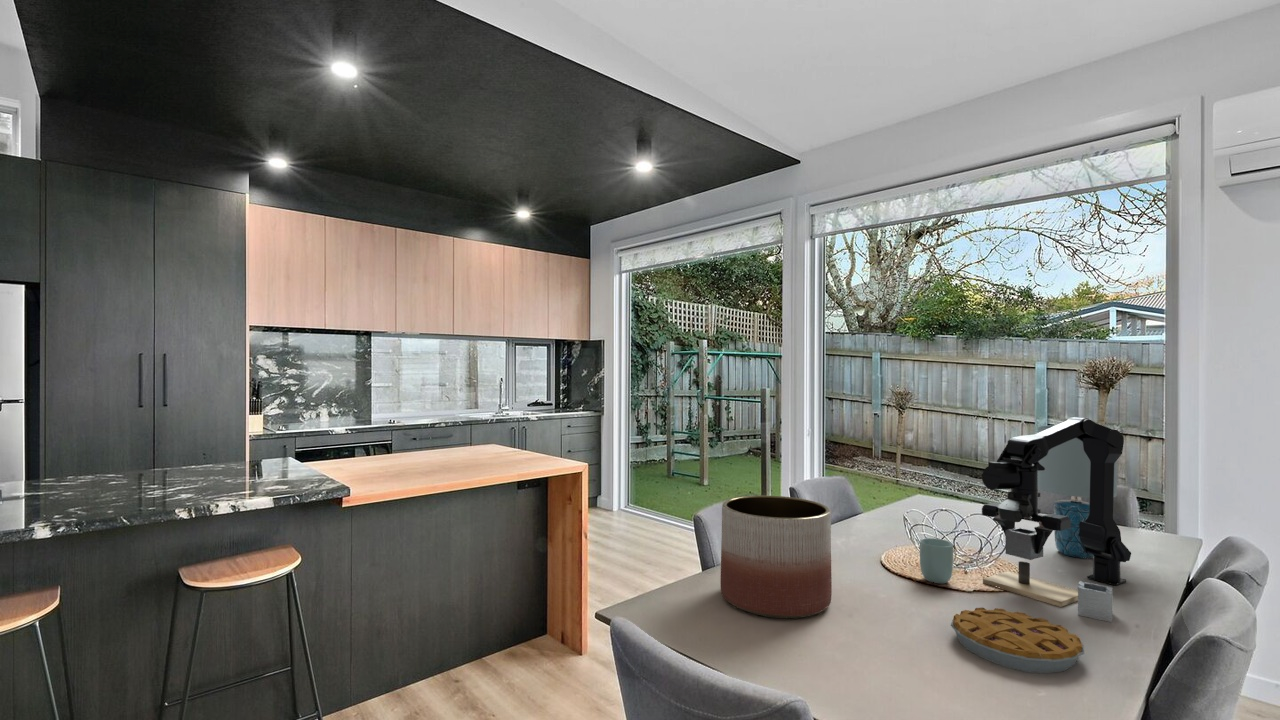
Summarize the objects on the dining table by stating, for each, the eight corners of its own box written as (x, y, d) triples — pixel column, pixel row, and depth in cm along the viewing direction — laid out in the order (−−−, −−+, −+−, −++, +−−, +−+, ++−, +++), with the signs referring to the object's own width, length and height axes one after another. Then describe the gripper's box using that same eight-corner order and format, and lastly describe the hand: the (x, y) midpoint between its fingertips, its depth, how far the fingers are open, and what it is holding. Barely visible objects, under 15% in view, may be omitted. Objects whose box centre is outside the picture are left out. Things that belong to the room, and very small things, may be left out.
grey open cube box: (1079, 607, 140) (1079, 580, 140) (1112, 613, 136) (1112, 587, 136) (1078, 615, 135) (1077, 588, 135) (1112, 622, 131) (1111, 594, 131)
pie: (1033, 688, 103) (1033, 659, 104) (927, 636, 124) (927, 612, 124) (1110, 665, 112) (1110, 638, 112) (999, 620, 132) (999, 597, 132)
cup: (957, 587, 152) (957, 547, 152) (924, 584, 153) (924, 545, 153) (948, 577, 159) (948, 539, 159) (916, 574, 161) (916, 537, 161)
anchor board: (1008, 575, 161) (1008, 552, 161) (1085, 597, 146) (1085, 571, 146) (982, 583, 155) (982, 558, 155) (1061, 607, 140) (1061, 580, 140)
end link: (1018, 550, 156) (1018, 526, 156) (1043, 556, 151) (1043, 532, 151) (1005, 553, 153) (1005, 529, 153) (1030, 560, 148) (1030, 535, 148)
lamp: (1096, 548, 188) (1096, 426, 189) (1131, 567, 169) (1131, 432, 170) (1027, 543, 192) (1027, 424, 193) (1054, 561, 174) (1054, 430, 174)
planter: (837, 591, 148) (838, 501, 148) (822, 631, 125) (823, 524, 125) (737, 575, 159) (737, 491, 159) (706, 609, 136) (706, 511, 136)
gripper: (969, 484, 156) (969, 545, 156) (1048, 498, 140) (1048, 565, 140) (993, 481, 162) (993, 539, 162) (1071, 493, 146) (1072, 558, 146)
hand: (1024, 550), depth 152 cm, fingers closed on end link, 6 cm apart
